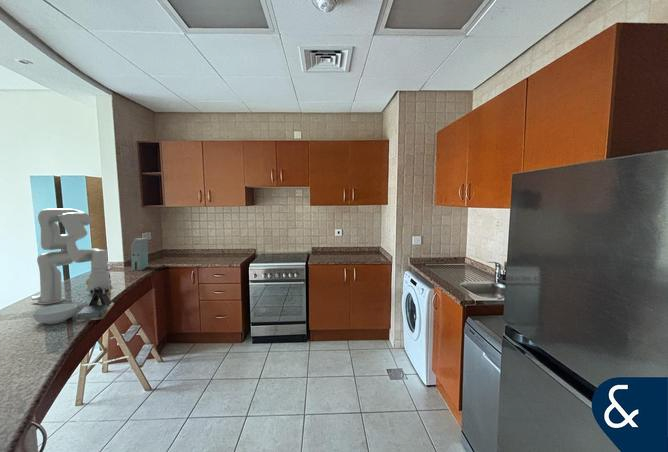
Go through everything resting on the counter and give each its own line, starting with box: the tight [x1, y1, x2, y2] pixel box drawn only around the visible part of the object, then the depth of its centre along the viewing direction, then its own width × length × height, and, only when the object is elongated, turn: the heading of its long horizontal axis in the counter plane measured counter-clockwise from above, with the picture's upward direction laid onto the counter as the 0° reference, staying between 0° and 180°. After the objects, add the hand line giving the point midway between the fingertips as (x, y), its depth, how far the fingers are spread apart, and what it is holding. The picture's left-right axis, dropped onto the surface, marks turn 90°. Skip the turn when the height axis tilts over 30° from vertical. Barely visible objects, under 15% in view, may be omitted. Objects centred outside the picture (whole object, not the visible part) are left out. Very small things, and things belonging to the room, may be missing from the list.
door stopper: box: [88, 287, 112, 306], centre depth 169 cm, size 9×6×12 cm, turn 104°
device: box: [130, 237, 149, 271], centre depth 279 cm, size 16×8×30 cm, turn 12°
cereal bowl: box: [32, 303, 79, 325], centre depth 150 cm, size 17×17×7 cm
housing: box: [76, 305, 107, 321], centre depth 156 cm, size 10×12×3 cm
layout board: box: [76, 302, 115, 323], centre depth 164 cm, size 11×26×1 cm, turn 27°
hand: (99, 300), depth 169 cm, fingers closed on door stopper, 2 cm apart
